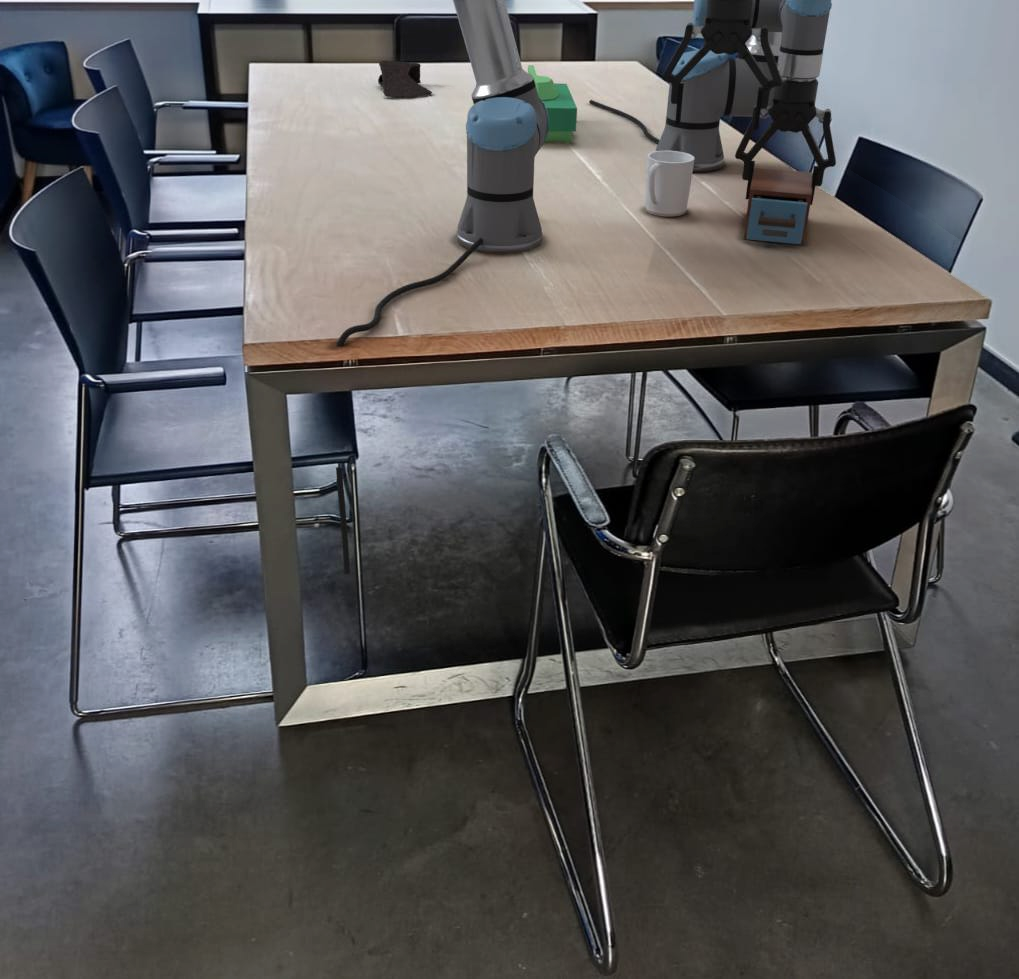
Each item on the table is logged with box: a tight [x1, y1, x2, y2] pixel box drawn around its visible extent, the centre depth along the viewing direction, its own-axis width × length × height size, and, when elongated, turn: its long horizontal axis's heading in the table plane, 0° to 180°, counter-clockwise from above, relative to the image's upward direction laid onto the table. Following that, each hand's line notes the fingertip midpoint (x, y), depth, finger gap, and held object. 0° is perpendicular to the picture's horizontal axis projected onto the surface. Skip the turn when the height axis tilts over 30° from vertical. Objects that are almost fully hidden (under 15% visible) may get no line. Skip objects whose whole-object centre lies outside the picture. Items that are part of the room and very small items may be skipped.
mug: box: [644, 150, 694, 218], centre depth 209 cm, size 11×9×10 cm
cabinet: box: [742, 167, 813, 245], centre depth 202 cm, size 15×11×9 cm
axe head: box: [377, 59, 433, 99], centre depth 299 cm, size 18×8×15 cm
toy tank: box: [527, 64, 578, 144], centre depth 264 cm, size 18×12×35 cm
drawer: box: [745, 195, 807, 245], centre depth 197 cm, size 19×10×7 cm, turn 166°
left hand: (716, 125), depth 192 cm, fingers open, 13 cm apart
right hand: (778, 200), depth 206 cm, fingers closed on cabinet, 11 cm apart
